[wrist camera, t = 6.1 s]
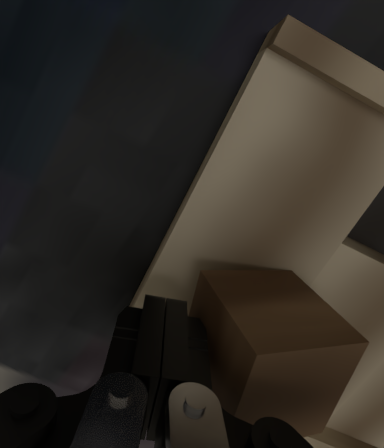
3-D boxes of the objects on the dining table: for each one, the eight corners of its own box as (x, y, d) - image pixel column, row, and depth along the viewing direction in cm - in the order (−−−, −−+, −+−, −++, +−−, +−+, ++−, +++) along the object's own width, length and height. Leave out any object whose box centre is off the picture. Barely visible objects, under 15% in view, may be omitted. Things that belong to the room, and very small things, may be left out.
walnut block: (200, 270, 12) (257, 355, 9) (291, 270, 13) (369, 342, 10) (177, 356, 13) (218, 458, 10) (262, 347, 15) (322, 432, 12)
